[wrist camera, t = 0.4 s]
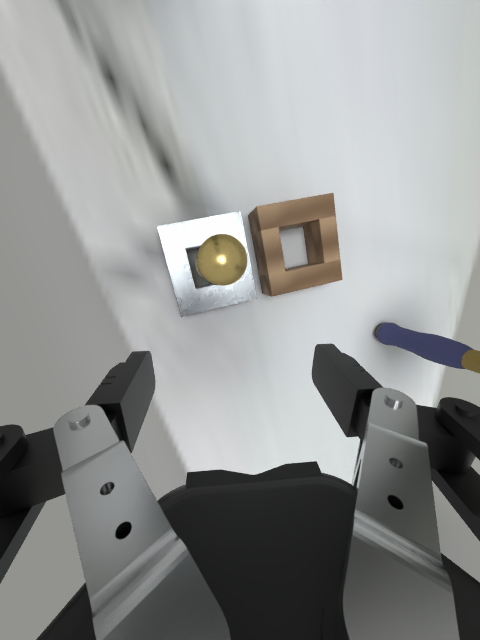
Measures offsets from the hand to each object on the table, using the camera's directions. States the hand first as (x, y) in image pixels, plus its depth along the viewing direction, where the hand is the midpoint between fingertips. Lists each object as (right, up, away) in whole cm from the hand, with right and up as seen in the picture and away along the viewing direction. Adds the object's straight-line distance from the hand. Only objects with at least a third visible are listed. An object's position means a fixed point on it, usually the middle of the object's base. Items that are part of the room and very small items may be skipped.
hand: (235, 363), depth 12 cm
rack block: (+8, +13, +26) cm, 31 cm away
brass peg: (-5, +10, +25) cm, 27 cm away
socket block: (-5, +10, +25) cm, 27 cm away
